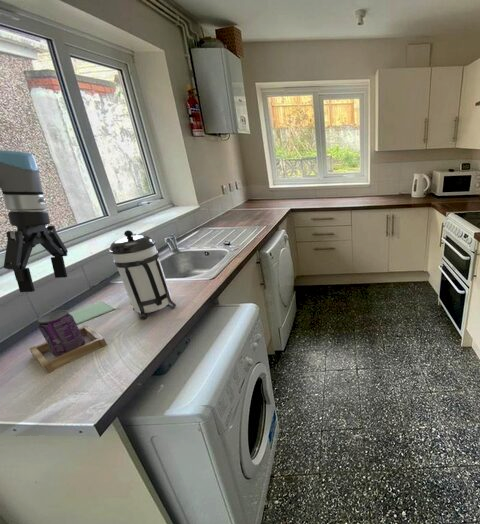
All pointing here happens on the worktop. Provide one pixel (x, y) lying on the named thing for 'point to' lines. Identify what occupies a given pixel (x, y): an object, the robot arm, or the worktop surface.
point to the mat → (91, 312)
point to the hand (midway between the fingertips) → (45, 284)
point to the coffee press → (141, 273)
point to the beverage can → (60, 332)
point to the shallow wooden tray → (70, 355)
